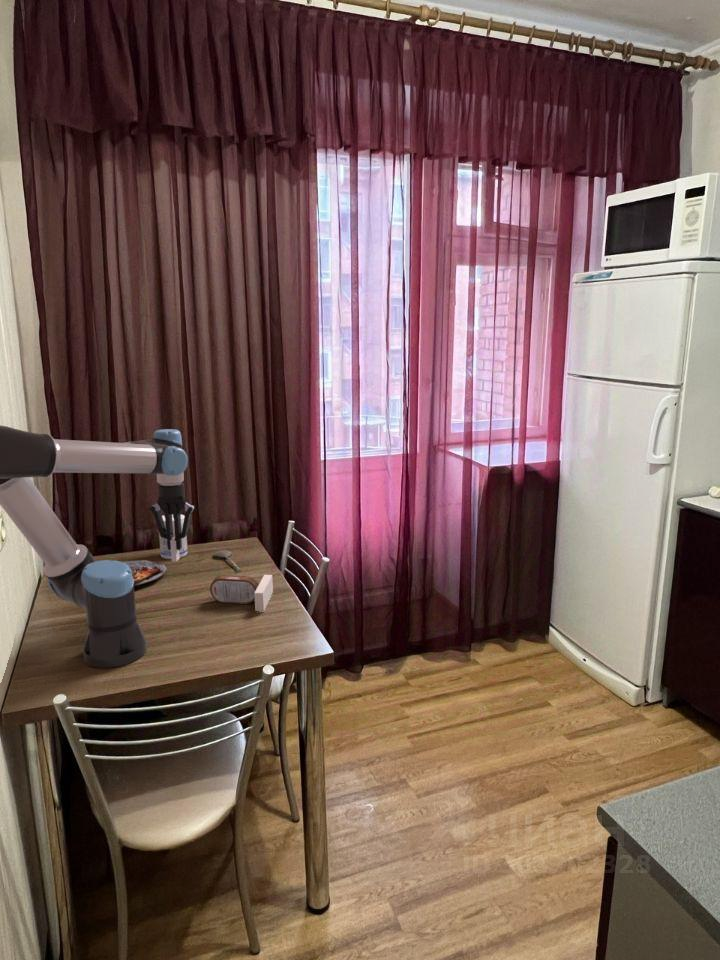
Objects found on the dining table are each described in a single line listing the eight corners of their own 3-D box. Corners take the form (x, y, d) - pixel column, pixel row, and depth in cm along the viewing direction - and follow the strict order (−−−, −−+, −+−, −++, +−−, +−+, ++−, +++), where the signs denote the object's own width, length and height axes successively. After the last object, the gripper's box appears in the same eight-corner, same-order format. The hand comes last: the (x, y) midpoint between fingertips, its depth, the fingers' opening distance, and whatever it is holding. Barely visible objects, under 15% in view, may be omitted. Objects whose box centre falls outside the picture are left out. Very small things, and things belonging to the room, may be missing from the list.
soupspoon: (228, 554, 236) (211, 558, 233) (227, 545, 235) (209, 550, 232) (248, 571, 217) (229, 575, 214) (247, 561, 216) (228, 566, 213)
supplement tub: (163, 561, 226) (160, 522, 223) (158, 554, 234) (154, 515, 231) (190, 557, 231) (187, 518, 227) (184, 549, 239) (181, 512, 235)
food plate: (181, 574, 214) (180, 564, 213) (122, 599, 195) (121, 588, 195) (134, 562, 228) (132, 553, 227) (75, 584, 209) (73, 574, 208)
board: (263, 612, 184) (262, 593, 183) (255, 612, 184) (254, 593, 183) (273, 592, 198) (272, 574, 196) (265, 592, 198) (264, 574, 197)
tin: (261, 601, 192) (259, 575, 190) (258, 605, 189) (256, 579, 187) (213, 599, 194) (211, 573, 192) (209, 603, 191) (207, 577, 189)
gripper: (196, 480, 187) (200, 556, 192) (153, 479, 188) (158, 555, 193) (188, 485, 180) (193, 564, 185) (143, 485, 181) (149, 563, 186)
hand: (175, 559), depth 189 cm, fingers closed
